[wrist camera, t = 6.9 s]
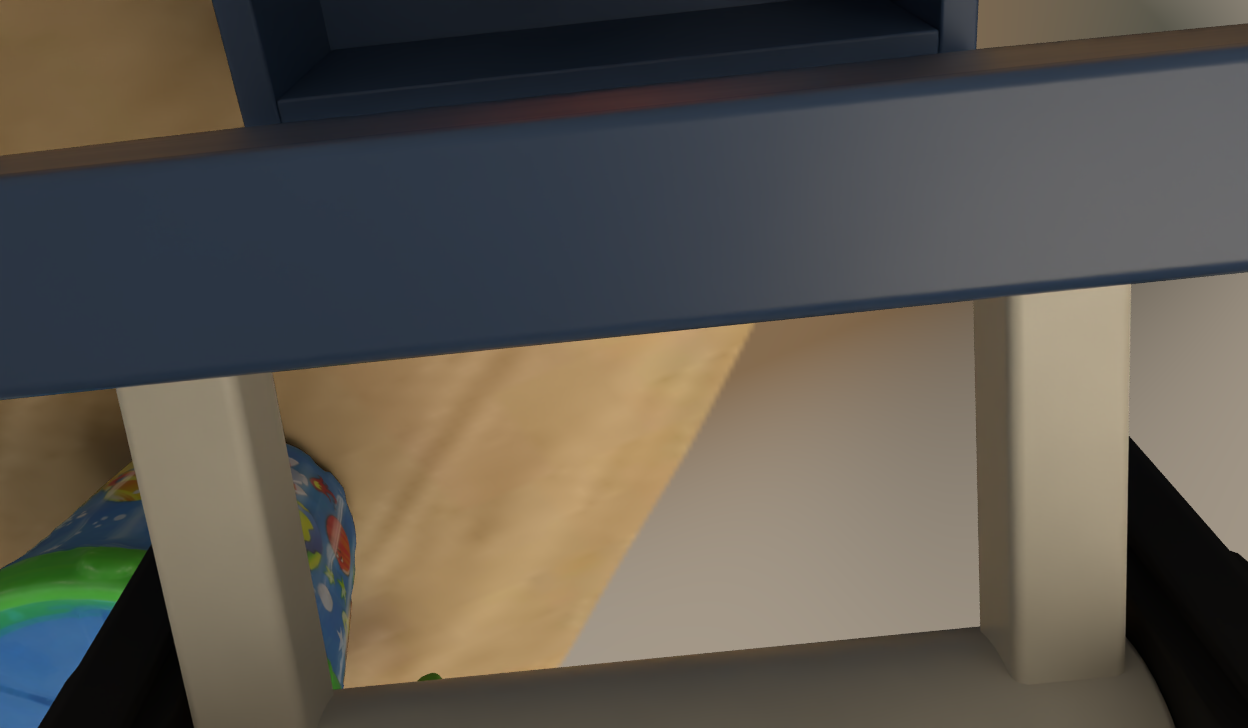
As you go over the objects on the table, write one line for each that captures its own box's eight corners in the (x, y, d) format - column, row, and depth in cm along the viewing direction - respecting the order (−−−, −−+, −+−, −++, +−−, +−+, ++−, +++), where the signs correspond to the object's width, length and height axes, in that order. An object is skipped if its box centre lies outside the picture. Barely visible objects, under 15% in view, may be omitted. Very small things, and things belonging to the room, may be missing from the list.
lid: (-1634, 346, 4) (-902, 1476, 5) (2966, -140, 4) (2417, 1183, 5) (237, 127, 23) (286, 384, 24) (983, 48, 22) (988, 312, 24)
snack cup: (-63, 486, 34) (-299, 728, 25) (110, 253, 31) (-90, 434, 22) (343, 724, 39) (269, 997, 30) (530, 545, 36) (511, 792, 27)
